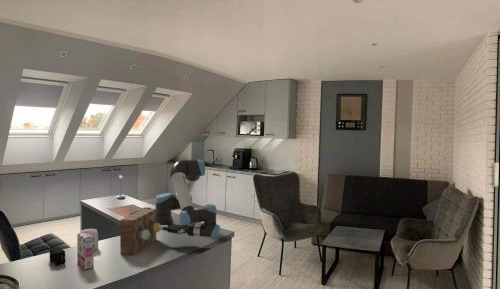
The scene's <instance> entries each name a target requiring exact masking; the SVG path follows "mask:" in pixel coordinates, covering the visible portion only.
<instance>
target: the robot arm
mask: <svg viewBox="0 0 500 289" xmlns="http://www.w3.org/2000/svg"><path fill="white" fill-rule="evenodd" d="M205 175H206V166H205V162H204V160H203V159H198V158H197V159H196V158H195V159H180V160H177V161H176V162H174V163H173V165H172V166H171V168H170V171H169V176H170V181H171V182H172V183H173V185H174V189H175V194H172V192H165V193H161V194H160V193H159V194H157V195H156V196H155V201H154V203H155V205H154V206H155V208H154V209H156V223H160V225H159V230H160V231H167V232H168V233H172V234H178V235H181V234H186V233H187V236H189V237H199V238H200V237H202V238H203V237H205V238H218V237H219V236H220V234H221V226H220V225H219V224H217V206H216V205H215V204H210V203H209V204H204V206H203V208H200V209H199V208H198V209H195V207H194V203H193V196H192V192H193V189H194V187H195V184H196V182H197V181H198V180H200V178H201V177H203V176H205ZM176 210H177V211H178V210H180V212H179V215H178V217H179V222H180V224H174V222H175V220H174V218H173V216H172V211H176Z"/></svg>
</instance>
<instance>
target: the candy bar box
mask: <svg viewBox="0 0 500 289" xmlns="http://www.w3.org/2000/svg"><path fill="white" fill-rule="evenodd" d="M76 235H77V237H76V238H77V240H76V241H77V245H76V248H77V249H76V251H77V252H76V254H77V260H76V261H77V264H76V265H78V266H79V267H80V268H81V269H82V270H83V271H87V270H91V269H94V268H95V267H94V251H95V250H94V236H92V235H90V234H89V233H87V232H84V233H80V232H79V233H76Z"/></svg>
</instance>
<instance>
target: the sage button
mask: <svg viewBox="0 0 500 289" xmlns="http://www.w3.org/2000/svg"><path fill="white" fill-rule="evenodd" d="M149 236H150V231H149V230H142V231H141V234H140V238H141V239H143V240H148V238H149Z"/></svg>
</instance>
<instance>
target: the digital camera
mask: <svg viewBox="0 0 500 289" xmlns="http://www.w3.org/2000/svg"><path fill="white" fill-rule="evenodd" d="M50 261H51V262H50ZM49 262H50V263H52V264H53V263H54V264H55V265H56V266H55V265H54V264H53V265H54V266H55V267H59V266H62V265H61V264H63V265H65V264H66V250H64V249H62V248H61V247H60V246H54V247H51V248H49ZM64 263H65V264H64ZM58 265H59V266H58Z"/></svg>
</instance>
